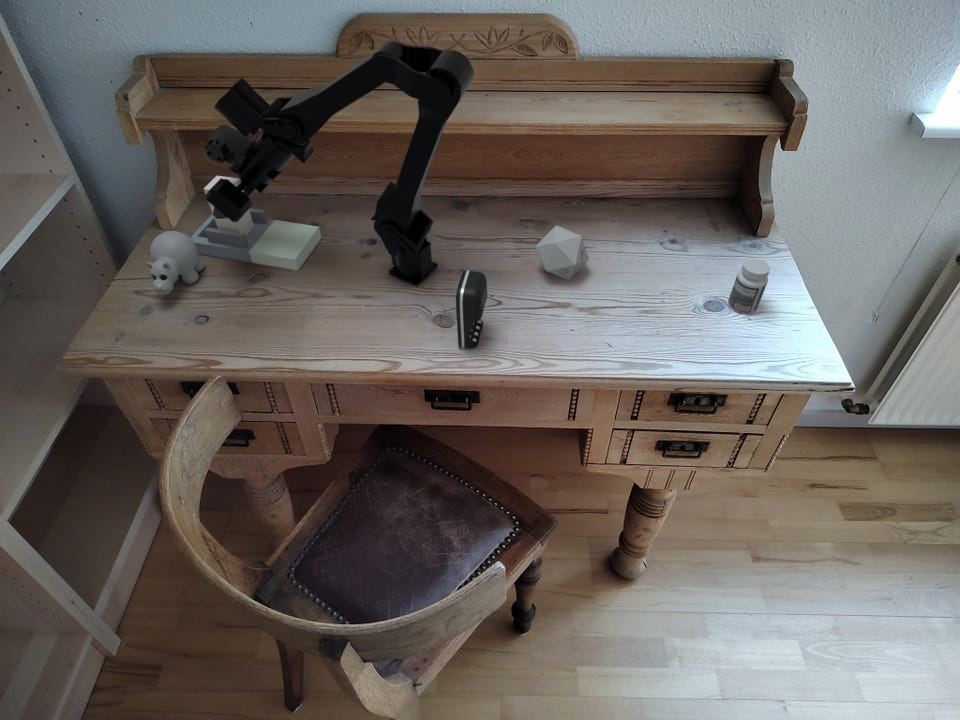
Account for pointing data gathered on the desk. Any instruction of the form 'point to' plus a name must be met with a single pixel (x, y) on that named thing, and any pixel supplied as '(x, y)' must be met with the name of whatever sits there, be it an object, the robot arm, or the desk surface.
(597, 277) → the desk surface
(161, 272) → the grey rounded figurine
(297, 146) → the robot arm
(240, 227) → the block
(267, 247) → the channel
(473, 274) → the battery charger
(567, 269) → the die
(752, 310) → the pill bottle
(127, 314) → the desk surface
